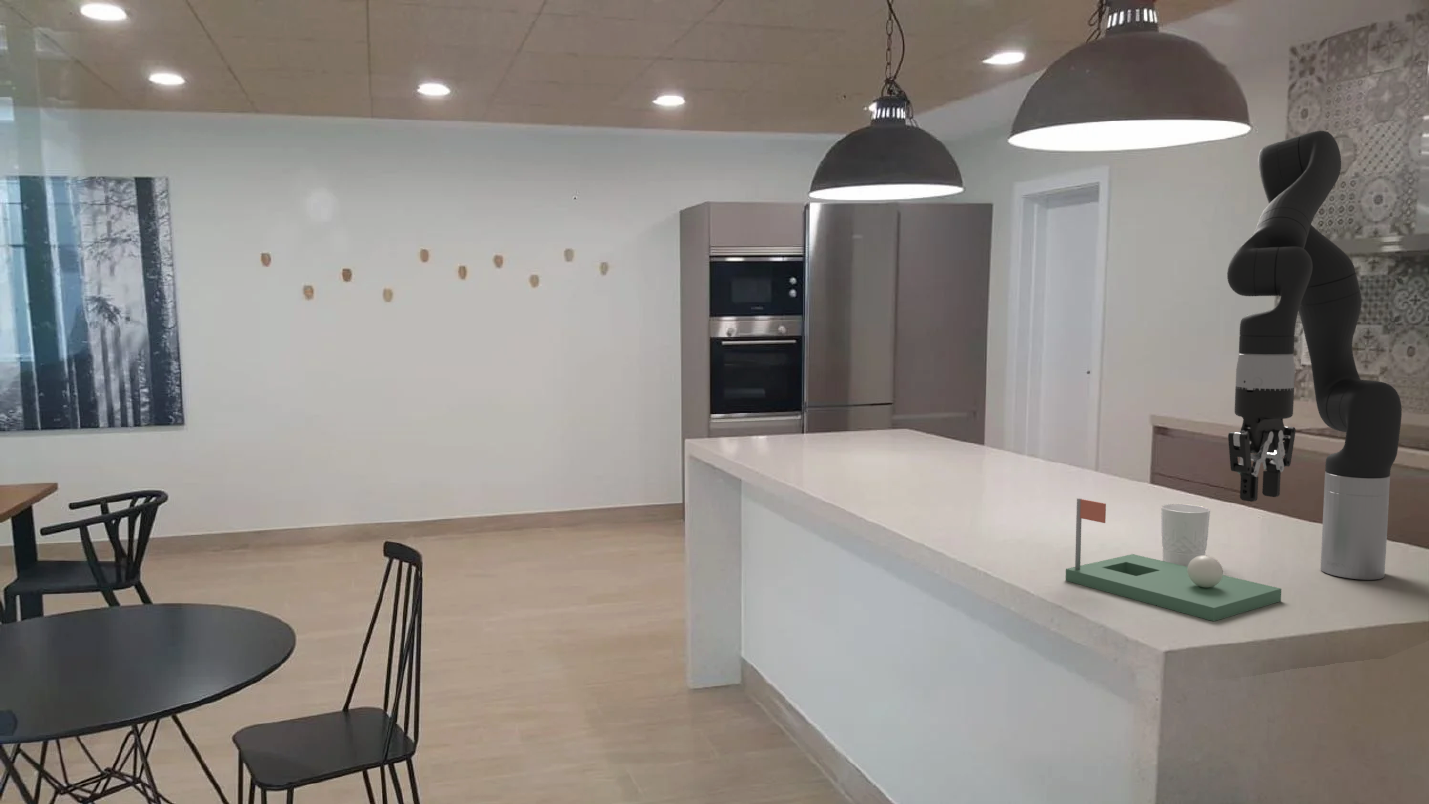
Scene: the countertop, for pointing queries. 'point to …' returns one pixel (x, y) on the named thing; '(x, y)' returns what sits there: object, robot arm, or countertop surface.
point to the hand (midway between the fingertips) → (1259, 497)
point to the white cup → (1184, 532)
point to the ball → (1205, 571)
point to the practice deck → (1164, 580)
